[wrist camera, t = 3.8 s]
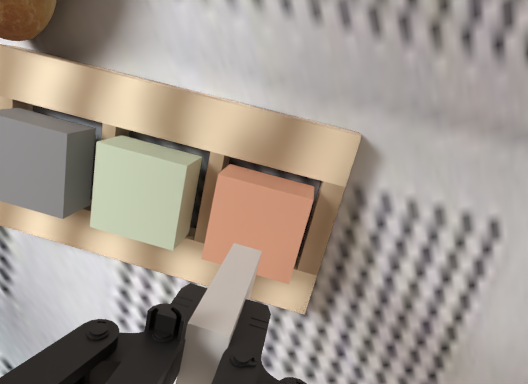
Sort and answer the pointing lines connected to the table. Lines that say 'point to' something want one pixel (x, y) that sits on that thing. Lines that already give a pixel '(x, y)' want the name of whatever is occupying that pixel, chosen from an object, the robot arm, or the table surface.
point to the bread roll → (24, 18)
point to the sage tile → (144, 191)
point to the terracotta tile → (258, 219)
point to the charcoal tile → (45, 162)
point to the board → (188, 133)
